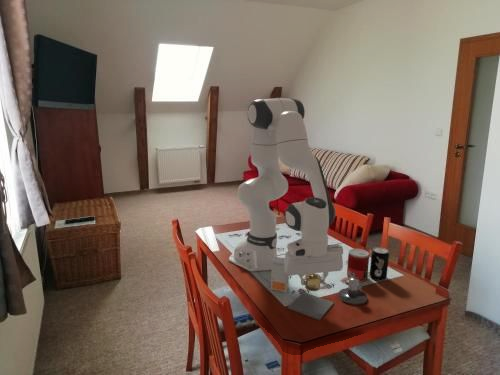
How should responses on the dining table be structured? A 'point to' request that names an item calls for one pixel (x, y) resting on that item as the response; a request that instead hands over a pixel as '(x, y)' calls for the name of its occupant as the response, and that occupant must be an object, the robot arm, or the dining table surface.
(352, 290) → the silver metal stand
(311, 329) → the dining table surface
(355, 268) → the canned food
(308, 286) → the cap
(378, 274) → the beverage can
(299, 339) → the dining table surface
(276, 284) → the skincare box
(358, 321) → the dining table surface
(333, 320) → the dining table surface
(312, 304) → the mat
